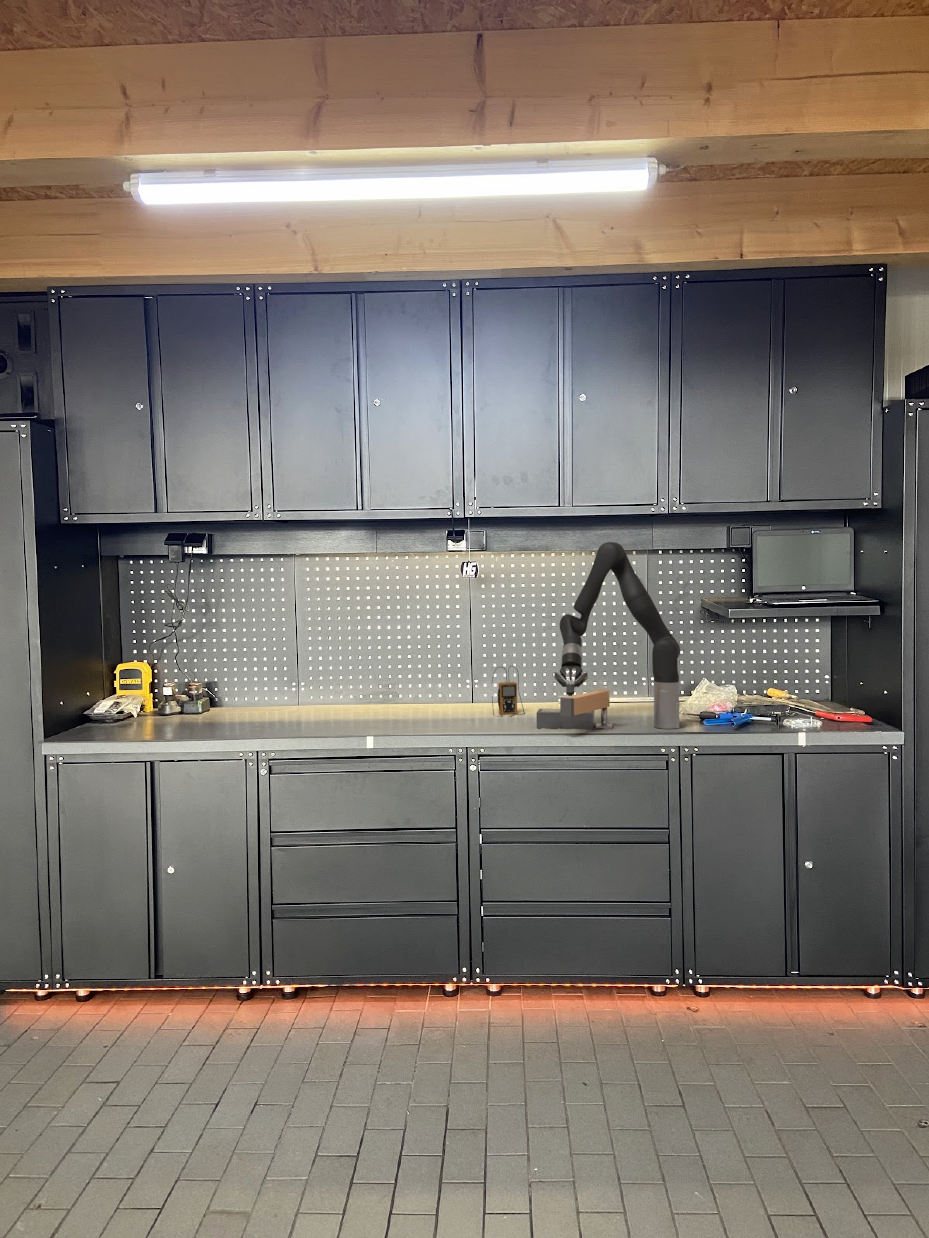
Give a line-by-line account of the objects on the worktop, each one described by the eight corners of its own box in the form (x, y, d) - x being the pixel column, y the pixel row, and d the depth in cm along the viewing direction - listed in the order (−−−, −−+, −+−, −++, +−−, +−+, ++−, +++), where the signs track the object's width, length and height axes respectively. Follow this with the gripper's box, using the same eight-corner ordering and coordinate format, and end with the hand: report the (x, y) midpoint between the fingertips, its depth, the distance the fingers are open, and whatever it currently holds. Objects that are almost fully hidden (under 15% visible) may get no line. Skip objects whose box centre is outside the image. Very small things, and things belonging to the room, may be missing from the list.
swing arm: (601, 705, 349) (601, 688, 348) (611, 706, 346) (611, 689, 345) (560, 715, 326) (560, 697, 326) (570, 716, 323) (570, 698, 323)
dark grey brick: (594, 724, 352) (594, 708, 351) (592, 729, 342) (592, 712, 342) (539, 723, 356) (539, 708, 355) (536, 728, 346) (536, 712, 346)
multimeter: (497, 718, 371) (497, 669, 370) (490, 714, 381) (489, 666, 380) (531, 716, 375) (531, 667, 374) (523, 712, 385) (523, 665, 384)
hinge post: (612, 726, 348) (612, 705, 348) (612, 728, 343) (612, 708, 342) (596, 725, 350) (596, 705, 349) (595, 728, 344) (595, 707, 343)
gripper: (553, 651, 346) (551, 688, 334) (588, 651, 343) (587, 688, 332) (555, 664, 351) (552, 700, 340) (589, 664, 349) (588, 700, 337)
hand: (570, 694), depth 336 cm, fingers closed
